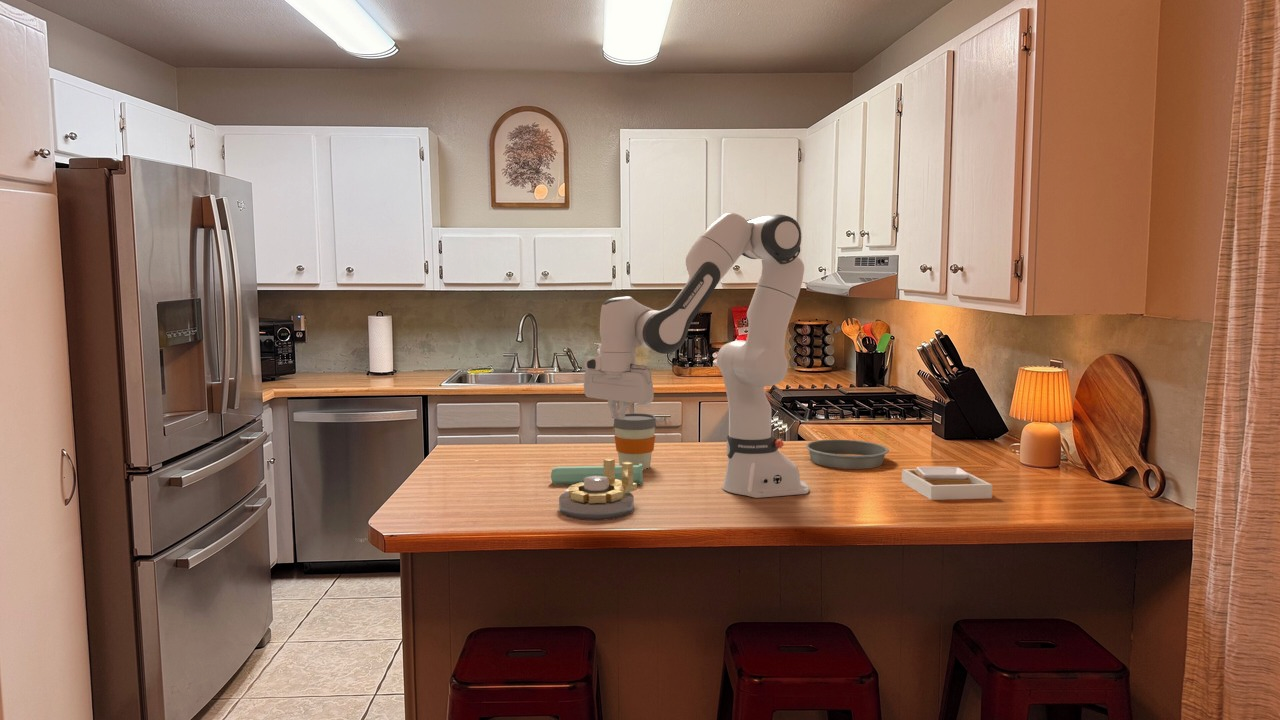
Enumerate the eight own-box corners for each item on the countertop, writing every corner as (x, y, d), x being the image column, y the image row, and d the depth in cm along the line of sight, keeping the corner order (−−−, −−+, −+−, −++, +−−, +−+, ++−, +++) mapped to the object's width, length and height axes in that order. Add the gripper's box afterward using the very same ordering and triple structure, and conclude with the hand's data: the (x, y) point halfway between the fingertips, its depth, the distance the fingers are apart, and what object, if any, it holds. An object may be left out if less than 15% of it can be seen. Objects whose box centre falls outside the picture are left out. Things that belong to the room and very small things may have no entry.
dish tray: (957, 480, 225) (958, 468, 224) (991, 498, 207) (992, 484, 206) (901, 482, 223) (902, 469, 223) (930, 499, 205) (931, 486, 205)
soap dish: (960, 484, 221) (960, 466, 221) (971, 494, 212) (972, 475, 211) (912, 483, 222) (913, 465, 222) (922, 493, 213) (922, 474, 212)
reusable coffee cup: (662, 469, 238) (662, 418, 236) (622, 473, 233) (622, 421, 232) (646, 460, 250) (646, 412, 248) (607, 464, 245) (607, 414, 243)
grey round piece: (630, 498, 207) (630, 469, 207) (636, 519, 190) (636, 487, 189) (559, 500, 206) (559, 470, 205) (559, 521, 188) (558, 489, 187)
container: (549, 463, 220) (642, 461, 220) (552, 466, 226) (642, 465, 226) (549, 485, 219) (642, 483, 218) (551, 488, 224) (642, 486, 224)
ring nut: (598, 506, 188) (597, 476, 187) (557, 496, 196) (556, 467, 196) (644, 491, 201) (644, 463, 200) (604, 482, 209) (604, 455, 209)
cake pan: (898, 471, 237) (899, 455, 236) (813, 470, 237) (814, 455, 237) (876, 452, 261) (876, 438, 261) (799, 452, 262) (799, 438, 261)
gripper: (659, 364, 196) (659, 421, 197) (596, 359, 209) (597, 412, 211) (642, 366, 191) (642, 425, 193) (579, 361, 204) (580, 415, 206)
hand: (618, 418), depth 202 cm, fingers closed
